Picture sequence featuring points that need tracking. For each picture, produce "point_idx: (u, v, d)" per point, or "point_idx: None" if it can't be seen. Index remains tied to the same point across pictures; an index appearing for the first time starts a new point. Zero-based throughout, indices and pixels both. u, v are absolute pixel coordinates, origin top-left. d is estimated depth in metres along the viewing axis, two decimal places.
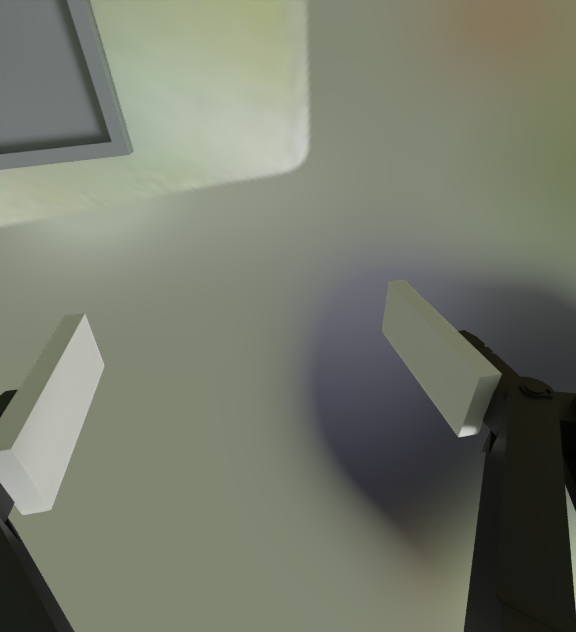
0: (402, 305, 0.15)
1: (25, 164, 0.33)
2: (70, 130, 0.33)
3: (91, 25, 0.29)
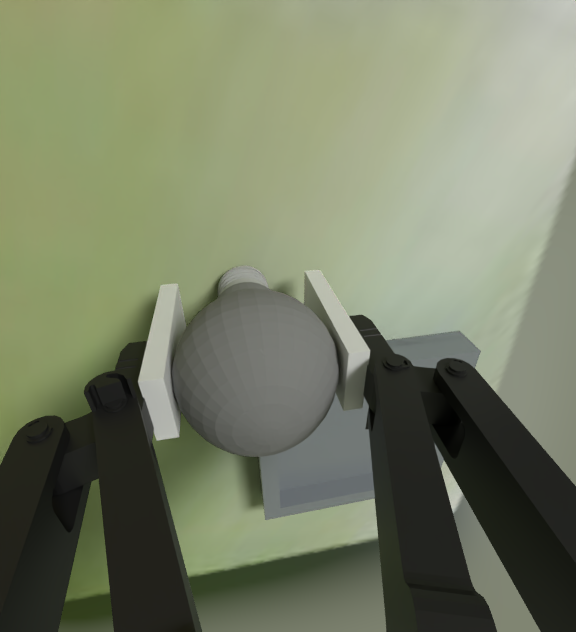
0: (312, 292, 0.16)
1: None
2: None
3: None
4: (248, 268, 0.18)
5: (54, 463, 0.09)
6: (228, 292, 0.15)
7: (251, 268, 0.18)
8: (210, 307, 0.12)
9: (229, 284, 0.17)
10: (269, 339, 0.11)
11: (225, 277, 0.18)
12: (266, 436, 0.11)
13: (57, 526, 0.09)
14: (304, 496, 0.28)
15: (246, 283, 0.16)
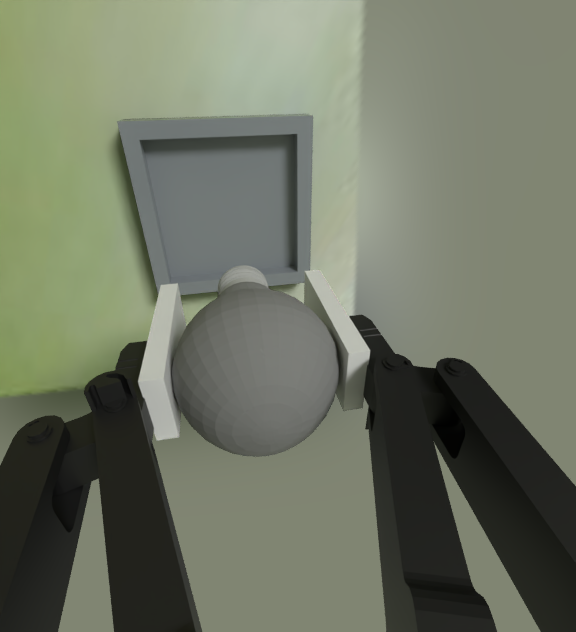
0: (312, 292, 0.16)
1: (308, 232, 0.32)
2: (280, 179, 0.30)
3: None
4: (248, 268, 0.18)
5: (54, 463, 0.09)
6: (228, 292, 0.15)
7: (251, 268, 0.18)
8: (210, 307, 0.12)
9: (229, 284, 0.17)
10: (269, 339, 0.11)
11: (225, 277, 0.18)
12: (266, 435, 0.11)
13: (57, 526, 0.09)
14: (193, 279, 0.33)
15: (246, 283, 0.16)
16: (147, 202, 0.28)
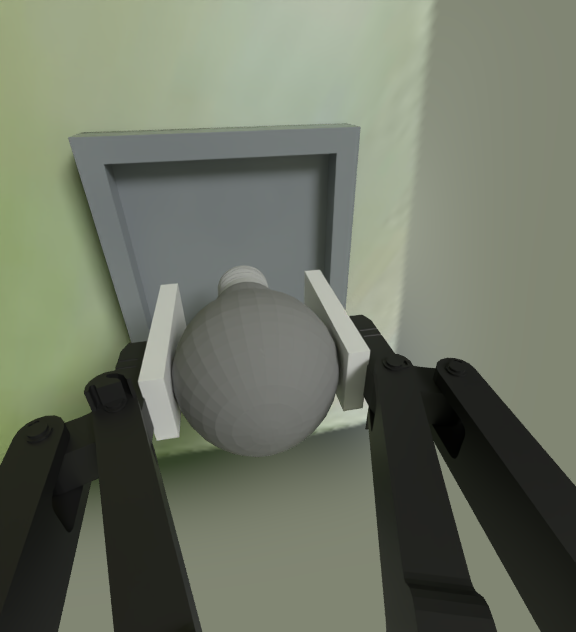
0: (312, 292, 0.16)
1: (344, 284, 0.23)
2: (307, 213, 0.22)
3: (170, 133, 0.17)
4: (248, 267, 0.18)
5: (54, 463, 0.09)
6: (228, 292, 0.15)
7: (251, 268, 0.18)
8: (210, 307, 0.12)
9: (229, 284, 0.17)
10: (269, 339, 0.11)
11: (225, 277, 0.18)
12: (266, 435, 0.11)
13: (57, 526, 0.09)
14: None
15: (246, 283, 0.16)
16: (119, 251, 0.20)
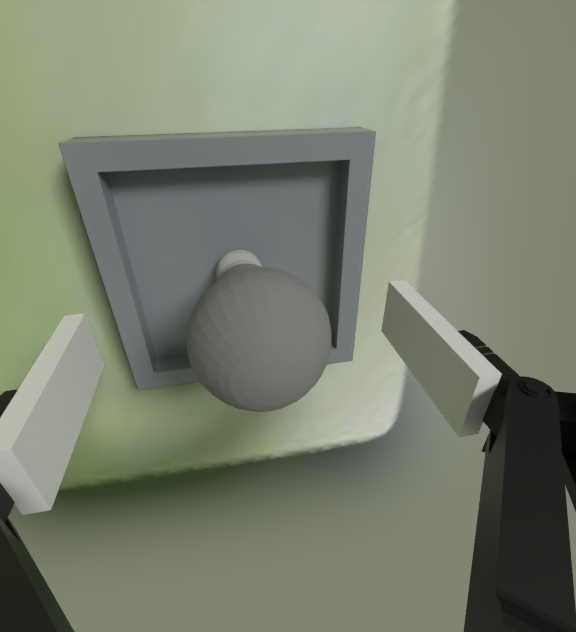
0: (402, 305, 0.15)
1: (356, 298, 0.22)
2: (317, 223, 0.20)
3: (169, 138, 0.16)
4: (244, 252, 0.20)
5: None
6: (229, 272, 0.17)
7: (246, 252, 0.20)
8: (219, 283, 0.14)
9: (228, 266, 0.19)
10: (274, 307, 0.13)
11: (223, 260, 0.20)
12: (274, 389, 0.13)
13: None
14: (187, 362, 0.23)
15: (245, 264, 0.17)
16: (115, 265, 0.18)
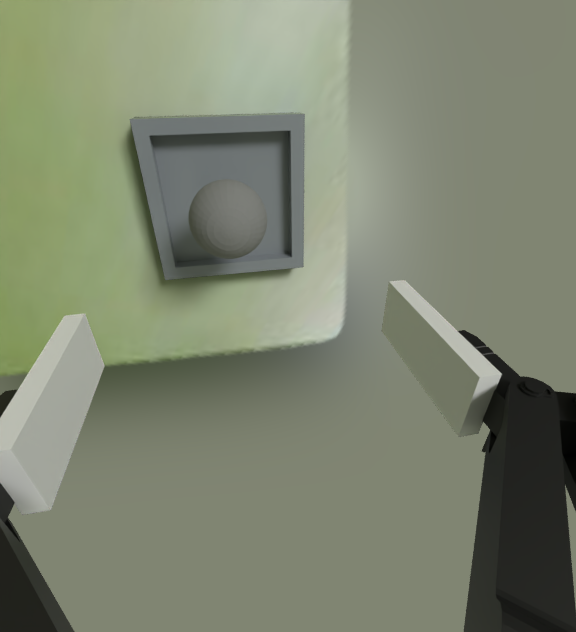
0: (402, 305, 0.15)
1: (301, 220, 0.35)
2: (275, 171, 0.34)
3: (188, 117, 0.29)
4: None
5: None
6: None
7: None
8: None
9: None
10: (229, 191, 0.25)
11: None
12: (228, 232, 0.26)
13: None
14: (196, 263, 0.36)
15: None
16: (155, 192, 0.31)
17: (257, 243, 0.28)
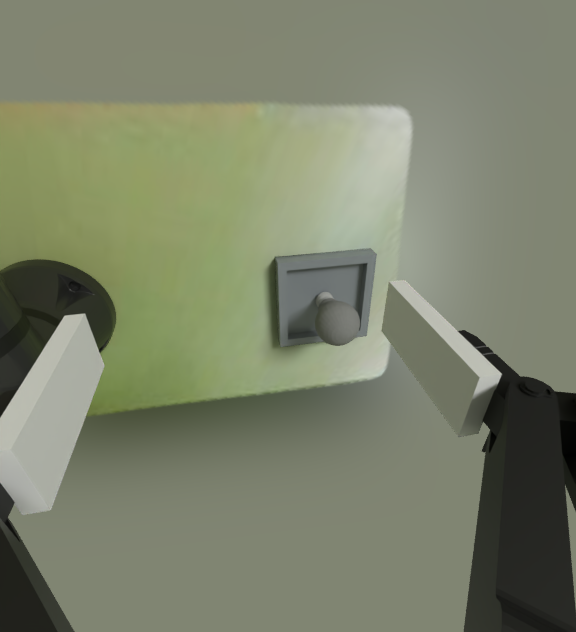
0: (402, 305, 0.15)
1: (368, 309, 0.55)
2: (354, 281, 0.54)
3: (310, 259, 0.49)
4: (327, 292, 0.53)
5: None
6: (325, 301, 0.50)
7: None
8: (327, 306, 0.47)
9: (322, 298, 0.52)
10: (344, 313, 0.46)
11: (319, 296, 0.53)
12: (343, 336, 0.46)
13: None
14: (299, 336, 0.56)
15: (330, 298, 0.51)
16: (284, 299, 0.51)
17: None
